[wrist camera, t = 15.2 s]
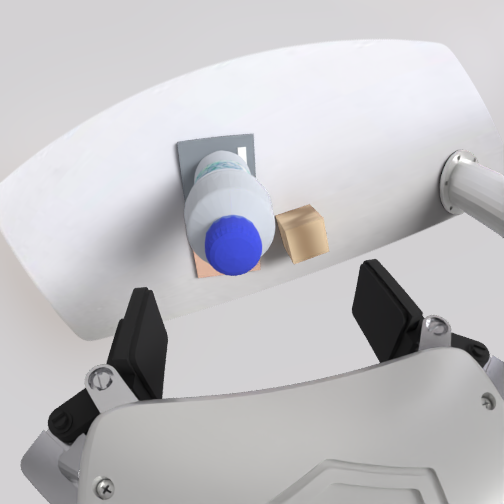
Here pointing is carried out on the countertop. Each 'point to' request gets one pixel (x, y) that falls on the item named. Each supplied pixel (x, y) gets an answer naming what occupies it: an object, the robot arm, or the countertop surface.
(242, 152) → the slate mat
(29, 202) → the countertop surface
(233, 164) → the bottle
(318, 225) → the oak block
